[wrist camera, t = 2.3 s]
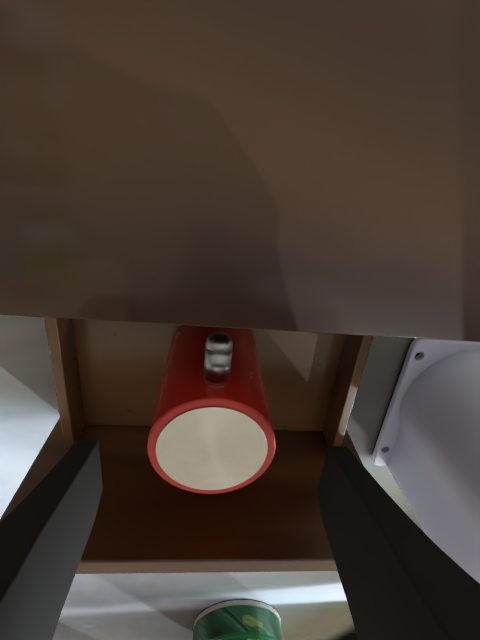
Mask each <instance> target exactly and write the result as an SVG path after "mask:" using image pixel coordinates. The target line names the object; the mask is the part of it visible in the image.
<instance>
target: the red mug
mask: <svg viewBox="0 0 480 640" xmlns="http://www.w3.org/2000/svg"><path fill="white" fill-rule="evenodd" d="M275 448H276V439H275V434H274V429H273V424H272V419H271V414H270V410H269V405H268V400H267V395H266V391H265V386H264V381H263V376H262V372H261V367H260V362H259V357H258V353H257V348H256V344H255V340H254V338H253V336H252V334H251V332H250V331H249V330H248V329H244V328H226V327H209V326H191V325H182V326H180V327H179V328H178V330H177V331H176V332H175V334H174V336H173V337H172V340H171V343H170V347H169V351H168V356H167V360H166V364H165V368H164V373H163V377H162V381H161V385H160V390H159V394H158V398H157V402H156V407H155V411H154V415H153V419H152V424H151V428H150V432H149V437H148V441H147V452H148V456H149V460H150V462H151V464H152V466H153V468H154V469H155V471H156V472H157V473H158V474H159V475H160V476H161V477H162V478H163V479H164V480H166V481H167V482H168V483H170V484H172V485H174V486H176V487H178V488H180V489H183V490H186V491H190V492H194V493H201V494H218V493H225V492H230V491H233V490H237V489H239V488H242V487H244V486H246V485H248V484H250V483H252V482H253V481H255V480H256V479H257V478H259V477H260V476H261V475H262V474H263V473H264V472H265V471H266V469H267V468H268V467H269V465H270V463H271V461H272V459H273V457H274V453H275Z"/></svg>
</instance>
